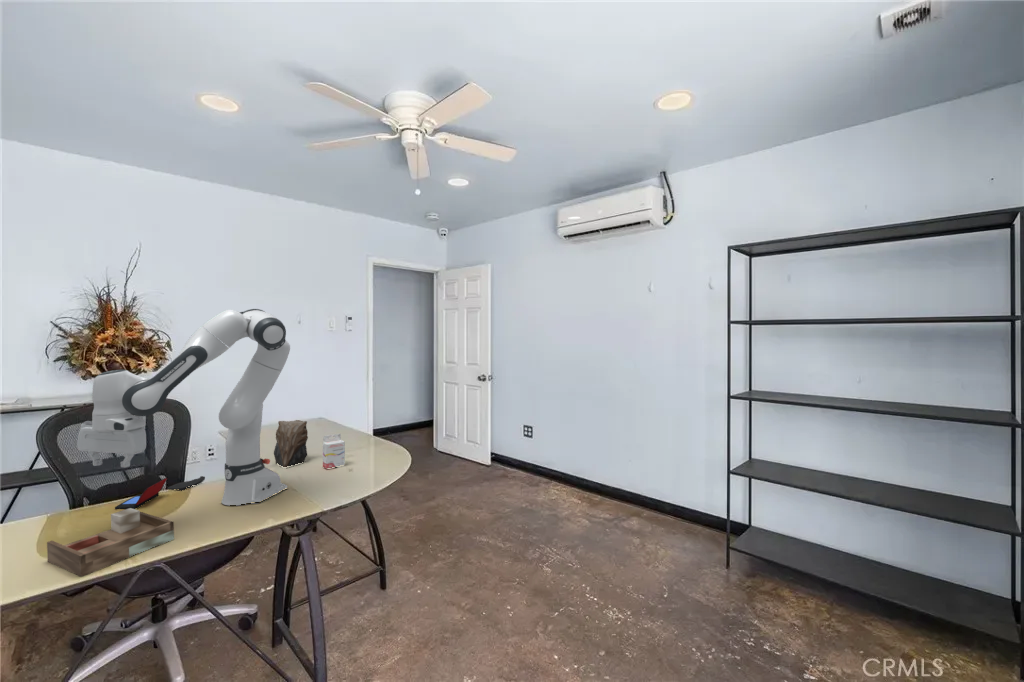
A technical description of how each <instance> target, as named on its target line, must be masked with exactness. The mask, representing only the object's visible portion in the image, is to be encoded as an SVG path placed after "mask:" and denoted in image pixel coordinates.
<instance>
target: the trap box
mask: <svg viewBox="0 0 1024 682" xmlns="http://www.w3.org/2000/svg"><path fill="white" fill-rule="evenodd" d="M174 523H175V522H174V521H172V520H168V519H165V518H163V517H159V516H156V515H154V514H153V515H152V514H149V513H145V512H143V511H140V527H137V528H135V529H132V530H129V531H126V532H123V533H118V532H115V531H112V530H111V528H110V529H108V530H104V531H101V532H99V533H96V534H93V535H90V536H87V537H85V538H80V539H79V540H76V541H73V542H70V543H67V544H62V543H59V542H57V541H54V540H50V541H46V549H47V550H46V551H47V552H46V553H47V562H48V563H50V564H52V565H55V566H56V567H58V568H61V569H63V570H65V571H68V572H70V573H72V574H74V575H77V576H79V577H81V578H82V577H84V576H87V575H89V574H91V573H95V572H96V571H97V572H98V571H100V570H101V569H102V570H103V569H104V568H107V567H108V566H112V565H114V564H116V562H117V563H119V562H121V560H122V561H124V560H126V559H125V558H127V559H129V558H132V557H134V556H136V555H135V554H137V553H139V554H141V553H140V552H142V553H144V552H146V551H145V550H147V551H149V550H151V549H150V548H152V547H154V548H156V547H155V546H157V545H159V546H161V545H160V544H162V545H164V544H166V543H165V542H167V543H169V542H171V540H172V541H174V540H175V529H174V528H175V527H174V526H175V525H174ZM173 539H174V540H173ZM168 541H169V542H168ZM163 543H164V544H163ZM157 547H158V546H157ZM148 549H149V550H148ZM152 549H153V548H152ZM143 551H144V552H143ZM133 555H134V556H133ZM137 555H138V554H137ZM131 556H132V557H131ZM128 557H129V558H128ZM123 559H124V560H123ZM118 561H119V562H118Z"/></svg>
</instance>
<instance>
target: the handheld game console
mask: <svg viewBox="0 0 1024 682" xmlns="http://www.w3.org/2000/svg"><path fill="white" fill-rule="evenodd" d="M167 480H168V478H167V477H165V478H163V479H161V480H158V481H157V482H155V483H153V484H152V485H150V486H148V487H146V488H145V489H144V490H143V492H142V493H139V494H136V495H134V496H133V497H130V498H128V499H127V500H125V501H122V502H121V503H119V504H117V505H116V506H114V510H115V509H124V510H126V509H129V508H132V509H135V508H137V509H139V508H140V507H142V506H144V505H145V504H146V503H148V502H150V501H149V500H151V501H152V500H154V499H156V498H157V497H158V496H159V495H160V491H161V490H162V489H163V486H164V485H165V483H166V482H167ZM147 501H148V502H147ZM145 502H146V503H145ZM143 504H144V505H143ZM141 505H142V506H141ZM139 506H140V507H139ZM138 507H139V508H138ZM135 510H136V509H135Z"/></svg>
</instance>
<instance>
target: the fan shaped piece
mask: <svg viewBox="0 0 1024 682" xmlns="http://www.w3.org/2000/svg"><path fill="white" fill-rule="evenodd" d="M205 479H206V477H205V476H202V475H201V476H200V477H197V478H195V479H191V480H187V481H182V482H177V483H175V484H173V485H170V486H168V487H167V490H170V491H175V490H174V489H179V490H178V491H180V490H181V491H180V492H183V491H185V489H186V487H187V488H189V489H191V488H190V487H191V486H192V485H196V486H198V485H200V484H202V483H203V482H204V481H205ZM197 484H198V485H197ZM188 486H190V487H188ZM192 488H194V487H193V486H192ZM182 490H183V491H182ZM186 490H187V489H186Z"/></svg>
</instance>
